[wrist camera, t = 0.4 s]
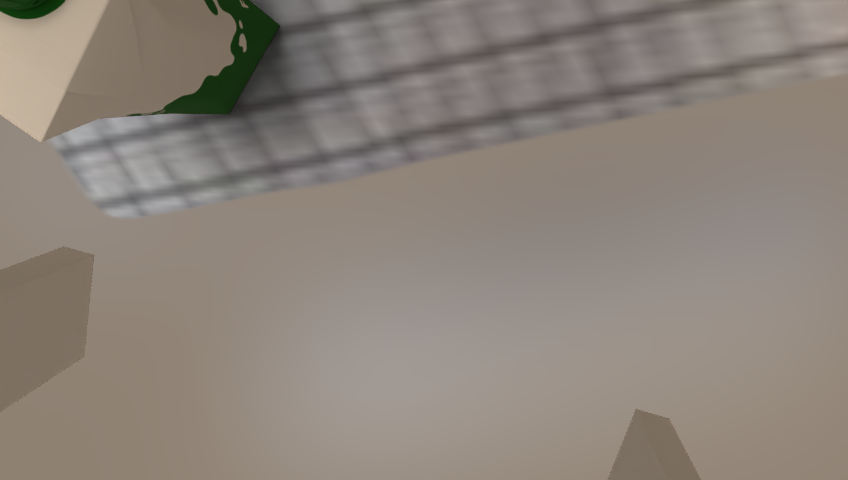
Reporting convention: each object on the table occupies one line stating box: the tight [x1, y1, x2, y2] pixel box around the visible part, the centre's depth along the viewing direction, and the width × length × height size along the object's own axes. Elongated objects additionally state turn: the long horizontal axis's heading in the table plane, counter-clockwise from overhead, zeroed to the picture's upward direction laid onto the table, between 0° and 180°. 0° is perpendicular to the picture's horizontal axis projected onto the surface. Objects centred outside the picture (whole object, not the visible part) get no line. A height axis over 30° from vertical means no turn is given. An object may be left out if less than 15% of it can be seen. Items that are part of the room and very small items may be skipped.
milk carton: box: [0, 0, 280, 142], centre depth 30 cm, size 9×9×20 cm
